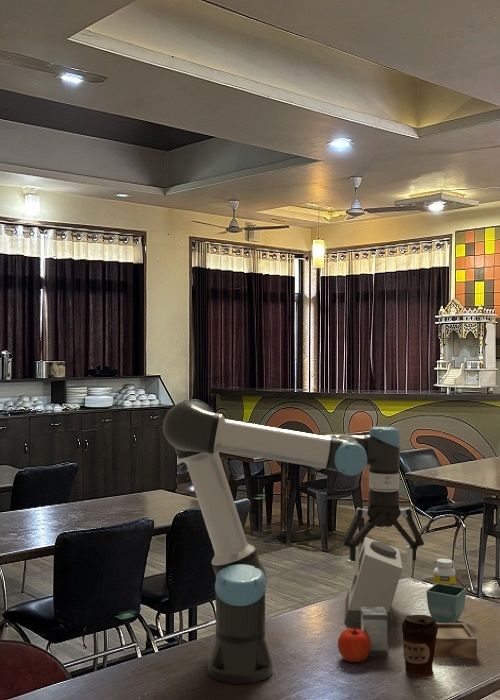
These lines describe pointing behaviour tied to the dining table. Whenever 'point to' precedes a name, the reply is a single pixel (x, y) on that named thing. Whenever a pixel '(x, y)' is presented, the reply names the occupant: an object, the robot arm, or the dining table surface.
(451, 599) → the flower pot
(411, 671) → the coffee cup
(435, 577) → the pill bottle
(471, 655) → the walnut stand
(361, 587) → the alarm clock
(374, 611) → the block
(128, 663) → the dining table surface
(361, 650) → the apple
